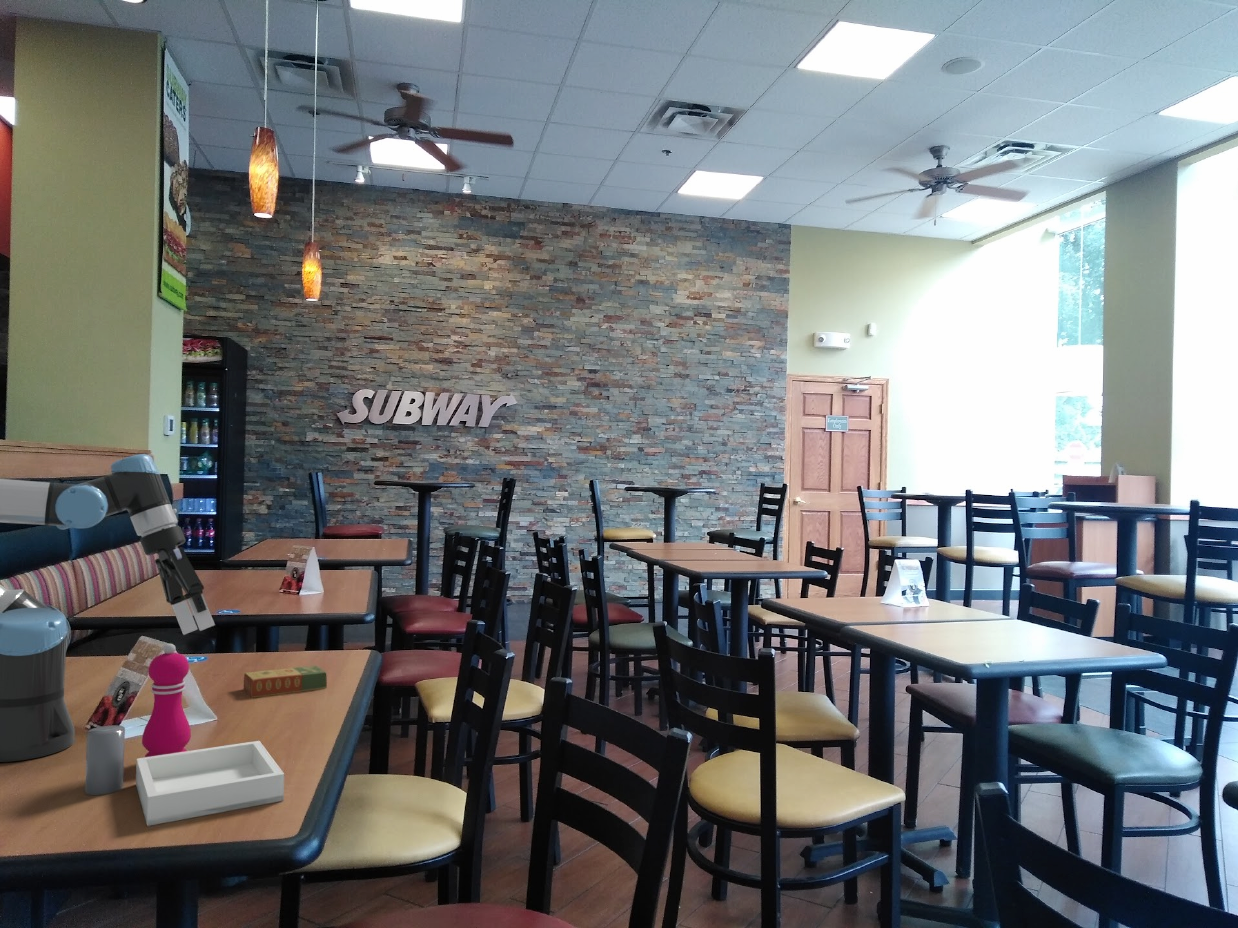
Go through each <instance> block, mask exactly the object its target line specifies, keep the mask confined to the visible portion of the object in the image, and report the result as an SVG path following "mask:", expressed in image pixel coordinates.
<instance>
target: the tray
mask: <svg viewBox="0 0 1238 928" xmlns="http://www.w3.org/2000/svg"><path fill="white" fill-rule="evenodd" d="M135 769H136V771H135V772H136V773H135V787H136V790H137V793H138V797H139V801H140V804H141V805H140V806H141V809H142V813H143V816H144V820H145V823H146V826H147V827H150V826H155V825H159V824H166V823H170V822H172V823H173V822H176V821H181V820H187V819H192V818H197V817H203V816H207V815H213V814H219V813H224V812H229V811H236V810H241V809H245V808H250V807H256V806H261V805H266V804H273V803H277V802H283V801H284V800H285V799H284V797H285V795H284V794H285V773H284V771H283V770H282V769H281V767H280V766H279V765H278V764H277V762H276V761H275V760H274V758H273V757H272V756H271V754H270V753H269V752H268V750H267V749H266V747H265V746H264V744H262V742H261V741H260V740H256V741H255V740H254V741H247V742H241V743H234V744H226V745H221V746H214V747H206V748H201V749H200V748H199V749H194V750H187V751H185V752H178V753H172V754H165V755H158V756H151V757H145V756H144V757H140V758H136V768H135Z"/></svg>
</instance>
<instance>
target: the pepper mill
mask: <svg viewBox="0 0 1238 928" xmlns="http://www.w3.org/2000/svg"><path fill="white" fill-rule="evenodd" d="M176 650H177V649H176V645H174V644H173V643H167V644H165V646H164V647H163V652H164V653H162V654H158V655H157V656H155V657H154V658H153V659H152V660H151V661H150V664H149V666H148V676H149V677H150V679H151V680H152V682H153V683H151V689H150V692H151V693H152V694H153V699H154V701H153V708H152V712H151V715H150V717H149V719H148V721H147V724H146V726H145V727H144V729H143V730H144V731H143V732H142V738H141V744H142V746H143V747H144V748H145V750H147V753H146V754H145V755H144V757H151V756H158V755H165V754H172V753H178V752H185V751H188V749H186V748H185V747H186V746H187V745H188V743H189V742H190V741H191V738H192V735H191V734H192V733H191V730H192V729H191V726H190V722H189V720H188V718H187V716H186V714H185V712H184V708H183V701H182V697H183V691H185V690H186V686H185V684H186V681H185V680H184V679H185V677H186V676H187V675H188V674H189V670H190V665H189V664H190V663H189V660H188V659H187V658H186V656H184V655H183V654H181V653H178V652H176Z"/></svg>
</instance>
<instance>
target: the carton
mask: <svg viewBox="0 0 1238 928" xmlns="http://www.w3.org/2000/svg"><path fill="white" fill-rule="evenodd" d="M327 676H328V675H327V671H325V670H323V669H322V668H320V667H318V666H317V665H310V666H298V667H291V668H288V667H287V668H278V669H270V670H267V669H266V670H260V671H251V672H250V671H249V672H244V675H243V690H244V691H245V692H246V693H247V694H248V695H249V696H250V697H251V698H260V697H259V696H261V697H266V696H267V697H268V696H269V697H270V696H275V694H277V695H284V694H292V693H291V692H293V693H301V692H309V690H310V691H317V690H325V688H326V689H327V688H328V681H327Z"/></svg>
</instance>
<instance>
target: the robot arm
mask: <svg viewBox="0 0 1238 928" xmlns="http://www.w3.org/2000/svg"><path fill="white" fill-rule="evenodd" d="M124 511H127V512H128V514H129V517H130V520H131V524H132V525H133V527H134V528H133V529H134V531H135V533H136V536H139V537H140V536H141V537H140V539H139V542H140V545H141V547H142V550H143V553H144V555H146V556H153V555H156V554H157V555H158V558H156V559H154V563H155V565H156V567H157V569H158V573H159V577H160V581H161V585H162V588H163V589H162V590H163V593H164V596H165V599H166V600H165V601H166V603H168V604H170V605H171V608H172V610H173V612H174V614H175V617H176V620H177V622H178V625H179V627H180V630H181V632H182V635H183V636H185V635H188V634H189V633H192V632H194V631H197V630H199V631H200V632H201V631H203V630H206V629H208V628H212V627H214V626H216V624H215V621H214V619H213V617H212V614H211V612H210V609H209V606H208V604H207V601H206V599H205V596H204V594H203V593H204V592H203V590H204V589H205V586H204V585H203V583H202V581H201V580H200V578H199V576H198V574H197V572H196V571H195V569H194V567H193V565H192V563H191V561H190V560H189V558H188V556H187V554H186V552H185V548H183V546H181V545H183V544H185V543H186V536H185V535H184V532H183V529H182V528H181V526H179V525H176V524H178V522H179V520H178V517H177V516H176V514H177V512H178V511H177V509H176V508H173V505H172V502H171V501H170V498H169V495H168V492H167V490H166V487H165V484H164V482H163V480H162V477H161V474H160V472H159V470H158V467H157V466H156V463H155V461H154V459H153V457H152V456H150V455H149V454H146V453H142V454H135V455H130V456H127V457H124V458H121V459H118V460H116V461H114V462H113V463H111V465H110V474H107V475H104V476H102V477H99V478H96V479H92V480H88V481H87V480H86V481H84V482H81V483H78V484H76V483H75V484H74V483H63V482H60V483H59V482H49V481H48V482H47V481H35V480H34V481H33V480H32V481H31V480H22V479H9V478H8V479H6V478H0V523H6V524H23V525H25V524H26V525H43V526H44V525H46V526H55V527H56V528H57V529H59V530H67V529H71V528H72V529H89V528H92V527H94V526H96V525H98V524H99V523H100V522H102V520H103V519H104V518H106V517H109V516H111V515H114V514H117V513H122V512H124ZM178 546H181V547H178ZM177 547H178V548H177ZM183 591H184V592H185V593H184V592H183ZM71 632H72V631H71V626H70V622H69V621H68V619H67V618H66V615H65V614H64V613H63V612H62V611H60V610H59V609H58V608H56V607H55V606H52V605H49V604H46V603H42V602H41V601H40V600H38V599H37V598H35V596H33V595H32V594H30V593H29V592H27V591H26V590H24V589H22V588H19V589H7V588H6V587H5V586H3V585H2V584H0V763H9V762H18V761H25V760H32V759H36V758H37V759H38V758H41V757H47V756H49V755H52V754H55V753H58V752H62V751H64V750H66V749H68V748H69V747H71V746H73V745H74V743H75V731H76V730H75V727H74V723H73V721H72V718H71V715H70V712H69V709H68V706H67V704H66V701H65V683H66V681H65V680H66V678H65V677H66V656H67V654H66V653H67V650H68V647H69V646H70V643H71V642H70V641H71V639H72V638H71V637H72V634H71Z"/></svg>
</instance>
